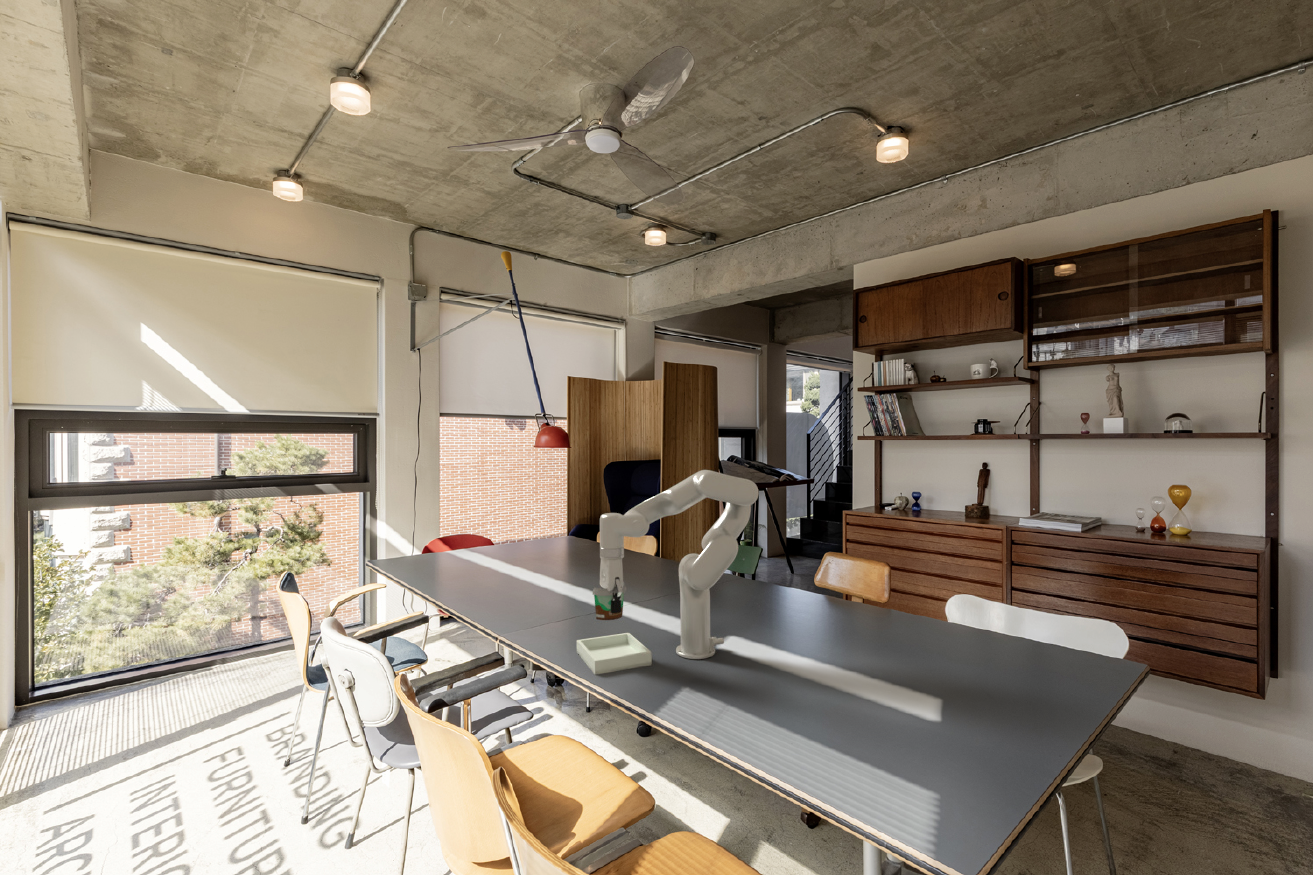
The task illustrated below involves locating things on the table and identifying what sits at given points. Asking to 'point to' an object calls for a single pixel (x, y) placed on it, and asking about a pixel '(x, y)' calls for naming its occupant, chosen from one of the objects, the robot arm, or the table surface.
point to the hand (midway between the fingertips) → (612, 609)
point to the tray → (613, 653)
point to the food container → (606, 603)
